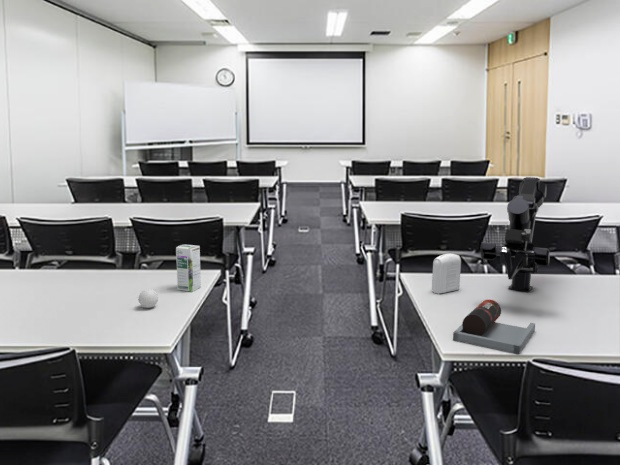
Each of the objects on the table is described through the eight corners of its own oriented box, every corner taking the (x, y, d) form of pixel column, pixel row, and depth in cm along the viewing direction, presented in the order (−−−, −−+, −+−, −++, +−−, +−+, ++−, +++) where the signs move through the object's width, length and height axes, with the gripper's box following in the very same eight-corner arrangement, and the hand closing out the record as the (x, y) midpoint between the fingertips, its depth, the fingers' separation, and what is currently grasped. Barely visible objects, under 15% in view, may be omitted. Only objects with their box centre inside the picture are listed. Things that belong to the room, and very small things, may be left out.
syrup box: (176, 290, 181) (174, 247, 178) (187, 285, 186) (185, 243, 183) (191, 292, 179) (189, 248, 176) (201, 287, 184) (200, 244, 181)
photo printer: (451, 286, 185) (453, 250, 183) (461, 289, 182) (463, 253, 179) (429, 291, 180) (431, 254, 177) (439, 295, 176) (441, 257, 174)
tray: (474, 319, 154) (474, 312, 154) (534, 330, 145) (535, 323, 145) (452, 339, 139) (453, 332, 139) (518, 354, 131) (519, 346, 130)
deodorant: (480, 319, 154) (463, 336, 142) (478, 298, 153) (461, 313, 141) (501, 321, 151) (486, 338, 138) (500, 299, 150) (484, 315, 138)
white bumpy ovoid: (162, 305, 165) (161, 287, 164) (151, 311, 160) (150, 293, 159) (141, 303, 168) (139, 285, 167) (129, 308, 163) (128, 290, 162)
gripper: (483, 215, 163) (473, 260, 155) (552, 220, 154) (544, 268, 147) (486, 236, 171) (477, 279, 164) (552, 242, 163) (545, 288, 155)
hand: (509, 278), depth 157 cm, fingers closed
